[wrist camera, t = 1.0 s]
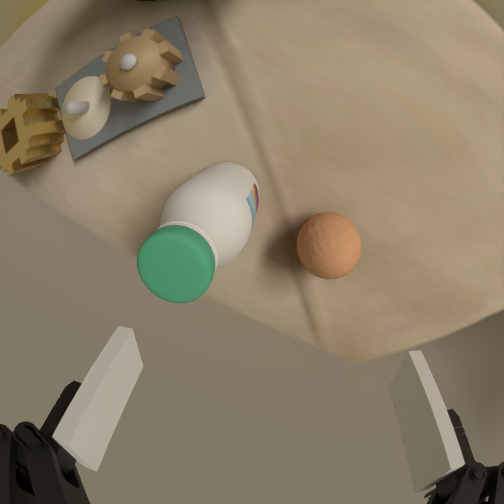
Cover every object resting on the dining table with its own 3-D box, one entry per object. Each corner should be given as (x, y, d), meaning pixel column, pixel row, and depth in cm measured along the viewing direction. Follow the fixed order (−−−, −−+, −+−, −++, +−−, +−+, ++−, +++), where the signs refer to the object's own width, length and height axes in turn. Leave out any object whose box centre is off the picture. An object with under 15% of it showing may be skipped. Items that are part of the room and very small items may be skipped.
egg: (356, 208, 33) (378, 232, 25) (345, 261, 36) (361, 296, 28) (298, 201, 33) (305, 223, 25) (291, 256, 36) (294, 292, 28)
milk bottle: (185, 194, 34) (94, 268, 16) (226, 148, 31) (158, 174, 13) (230, 234, 36) (185, 344, 17) (273, 192, 33) (269, 275, 15)
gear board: (61, 89, 28) (28, 88, 21) (180, 20, 24) (158, -2, 17) (80, 158, 32) (46, 167, 26) (205, 97, 29) (186, 89, 22)
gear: (20, 119, 30) (-11, 123, 23) (57, 85, 28) (23, 84, 21) (33, 171, 34) (2, 182, 27) (71, 143, 32) (36, 150, 25)
